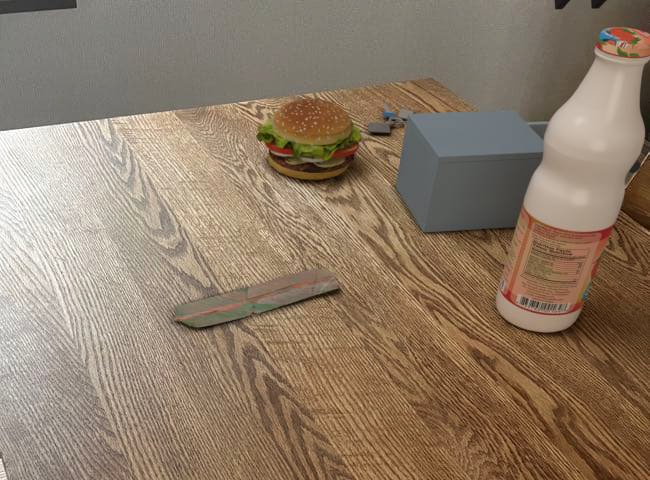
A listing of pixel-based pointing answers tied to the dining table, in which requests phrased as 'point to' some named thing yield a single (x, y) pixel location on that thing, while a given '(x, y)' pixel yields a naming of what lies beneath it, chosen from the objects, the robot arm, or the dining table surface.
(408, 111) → the key chain
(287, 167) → the food
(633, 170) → the drawer
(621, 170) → the fruit juice
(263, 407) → the dining table surface
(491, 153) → the cabinet
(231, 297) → the map
